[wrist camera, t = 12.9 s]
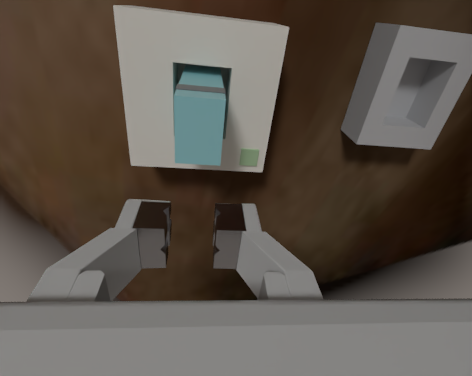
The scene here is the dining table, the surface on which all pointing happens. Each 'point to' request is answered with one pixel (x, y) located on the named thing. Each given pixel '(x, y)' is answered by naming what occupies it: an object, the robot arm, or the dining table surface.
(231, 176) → the dining table surface
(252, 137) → the port block
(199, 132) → the plug
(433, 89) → the holster
